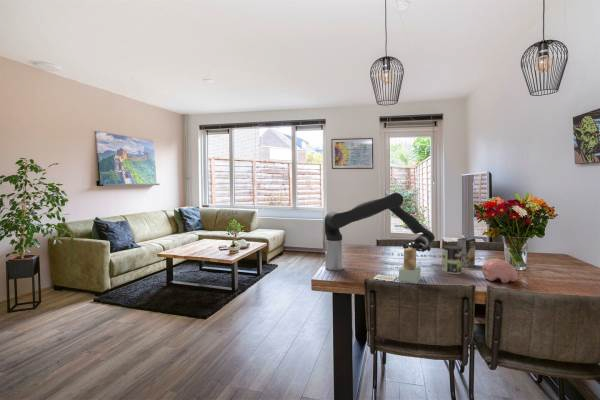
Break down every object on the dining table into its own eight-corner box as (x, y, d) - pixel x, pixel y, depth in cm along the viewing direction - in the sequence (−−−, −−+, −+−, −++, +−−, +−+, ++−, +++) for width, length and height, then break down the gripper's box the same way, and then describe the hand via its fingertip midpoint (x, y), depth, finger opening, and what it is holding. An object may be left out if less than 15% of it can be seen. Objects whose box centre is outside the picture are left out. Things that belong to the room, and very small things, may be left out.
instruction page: (373, 278, 170) (373, 278, 170) (377, 274, 177) (377, 274, 177) (392, 281, 165) (392, 281, 165) (396, 277, 171) (396, 276, 171)
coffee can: (465, 271, 180) (465, 246, 179) (455, 275, 174) (456, 249, 173) (447, 267, 188) (447, 244, 187) (437, 271, 182) (438, 246, 181)
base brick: (398, 280, 166) (398, 269, 166) (403, 276, 174) (403, 265, 174) (417, 283, 162) (417, 271, 161) (420, 278, 169) (420, 267, 169)
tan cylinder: (403, 268, 167) (403, 249, 166) (406, 266, 171) (406, 247, 170) (413, 270, 164) (414, 250, 163) (415, 267, 168) (416, 248, 168)
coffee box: (467, 267, 188) (467, 240, 187) (456, 265, 194) (457, 238, 192) (475, 265, 194) (475, 238, 192) (464, 262, 199) (465, 237, 198)
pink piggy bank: (504, 285, 170) (515, 264, 168) (515, 293, 157) (527, 271, 156) (474, 272, 172) (485, 251, 171) (483, 279, 160) (494, 257, 158)
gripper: (407, 236, 192) (400, 241, 178) (433, 238, 184) (428, 243, 171) (407, 248, 192) (400, 254, 179) (433, 251, 185) (428, 257, 171)
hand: (414, 249), depth 175 cm, fingers open, 8 cm apart
